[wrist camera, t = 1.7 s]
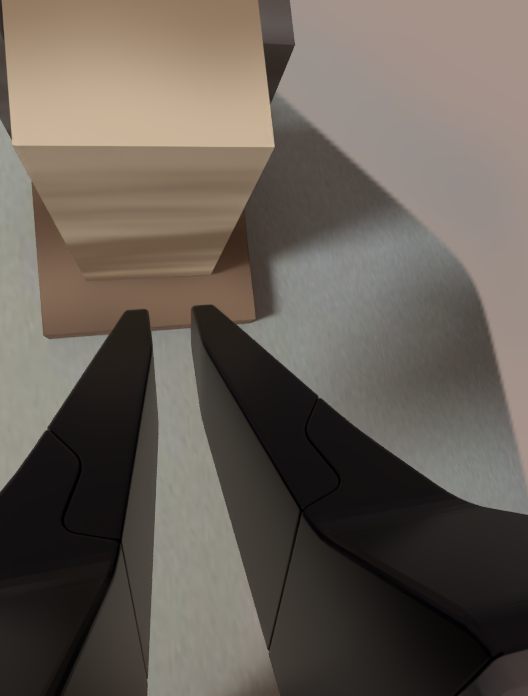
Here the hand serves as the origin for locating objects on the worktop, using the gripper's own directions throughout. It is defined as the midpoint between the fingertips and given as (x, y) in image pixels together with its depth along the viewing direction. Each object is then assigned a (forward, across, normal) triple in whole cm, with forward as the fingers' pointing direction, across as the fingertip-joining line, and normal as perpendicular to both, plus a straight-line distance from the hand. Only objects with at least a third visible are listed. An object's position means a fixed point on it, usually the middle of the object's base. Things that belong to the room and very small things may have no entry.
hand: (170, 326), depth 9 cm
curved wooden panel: (+12, 0, +4) cm, 12 cm away
